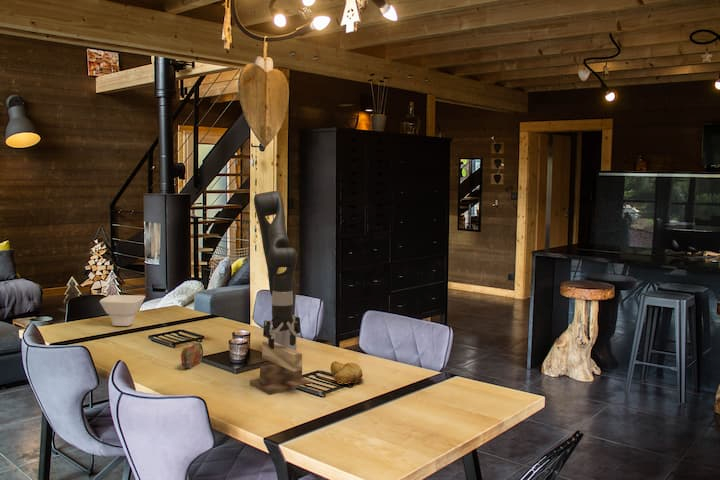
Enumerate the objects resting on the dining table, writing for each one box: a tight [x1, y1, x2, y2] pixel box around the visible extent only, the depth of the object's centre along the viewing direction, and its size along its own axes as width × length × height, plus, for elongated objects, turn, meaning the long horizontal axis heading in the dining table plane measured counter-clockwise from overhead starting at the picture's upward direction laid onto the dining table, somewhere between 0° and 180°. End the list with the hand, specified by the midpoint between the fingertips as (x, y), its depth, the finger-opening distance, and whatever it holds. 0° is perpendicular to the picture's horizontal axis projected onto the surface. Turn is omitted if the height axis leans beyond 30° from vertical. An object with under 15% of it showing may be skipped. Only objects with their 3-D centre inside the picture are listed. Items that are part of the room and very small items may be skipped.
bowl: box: [99, 294, 146, 327], centre depth 332 cm, size 19×19×14 cm
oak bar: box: [261, 340, 303, 372], centre depth 241 cm, size 4×22×6 cm, turn 38°
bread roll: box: [330, 360, 364, 384], centre depth 247 cm, size 13×10×8 cm
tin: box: [180, 342, 204, 369], centre depth 264 cm, size 15×3×8 cm, turn 168°
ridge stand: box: [249, 363, 313, 395], centre depth 241 cm, size 18×14×8 cm
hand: (281, 347), depth 240 cm, fingers open, 8 cm apart
